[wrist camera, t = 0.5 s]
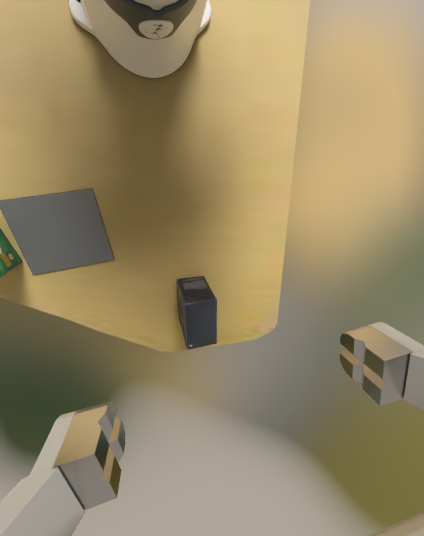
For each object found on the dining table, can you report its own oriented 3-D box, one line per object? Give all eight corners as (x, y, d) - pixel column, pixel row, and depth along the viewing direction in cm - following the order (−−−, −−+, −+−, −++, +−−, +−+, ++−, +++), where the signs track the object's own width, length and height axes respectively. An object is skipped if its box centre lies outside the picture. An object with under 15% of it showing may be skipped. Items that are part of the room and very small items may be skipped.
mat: (-2, 200, 36) (-4, 201, 36) (92, 188, 39) (91, 188, 38) (34, 274, 42) (33, 274, 41) (114, 259, 44) (114, 259, 44)
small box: (206, 314, 55) (218, 345, 46) (178, 319, 54) (185, 351, 44) (205, 275, 51) (218, 299, 42) (175, 278, 49) (182, 304, 40)
